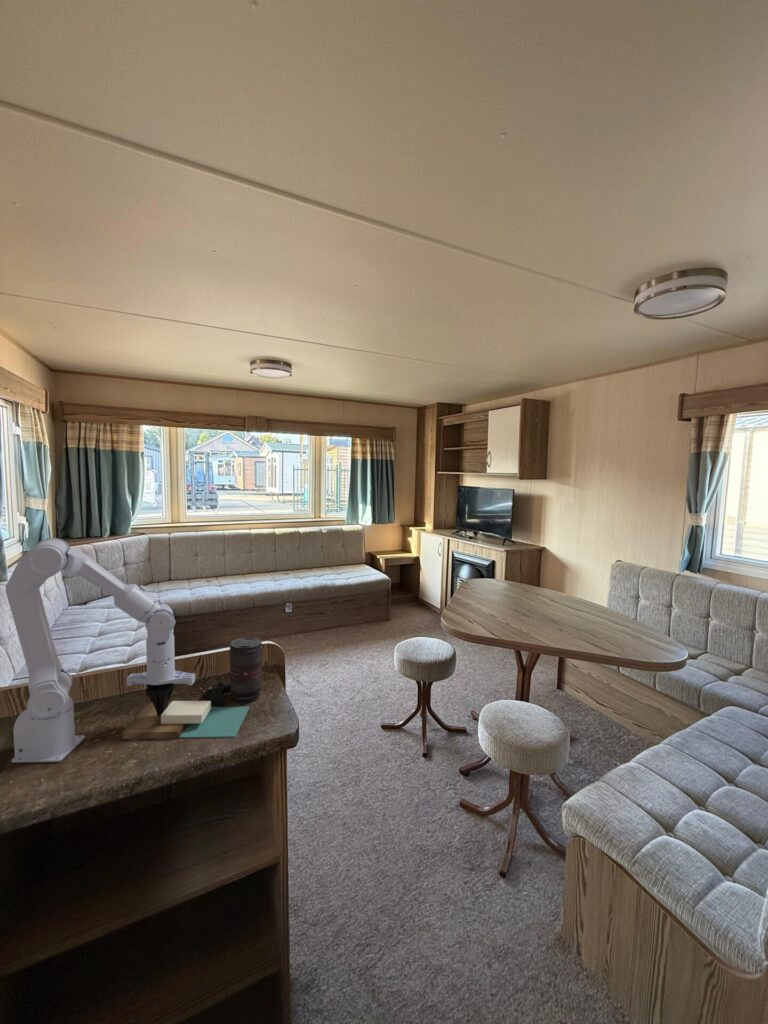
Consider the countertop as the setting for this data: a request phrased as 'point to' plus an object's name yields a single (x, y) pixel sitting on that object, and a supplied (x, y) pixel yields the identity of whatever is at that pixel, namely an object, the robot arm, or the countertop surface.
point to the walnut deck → (152, 726)
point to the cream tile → (185, 712)
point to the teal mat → (217, 723)
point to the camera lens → (245, 669)
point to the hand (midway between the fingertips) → (162, 713)
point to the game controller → (216, 693)
